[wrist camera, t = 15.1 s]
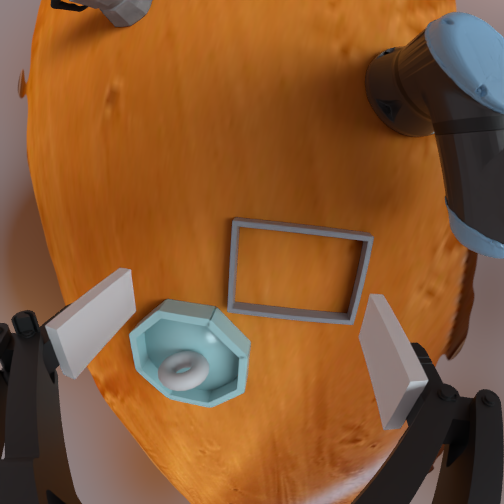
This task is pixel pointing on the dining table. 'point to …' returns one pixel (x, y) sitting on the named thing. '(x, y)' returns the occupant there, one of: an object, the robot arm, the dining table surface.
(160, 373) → the donut
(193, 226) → the dining table surface
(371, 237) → the grey rectangular frame
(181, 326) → the bowl
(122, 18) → the coffeepot
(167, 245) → the dining table surface
